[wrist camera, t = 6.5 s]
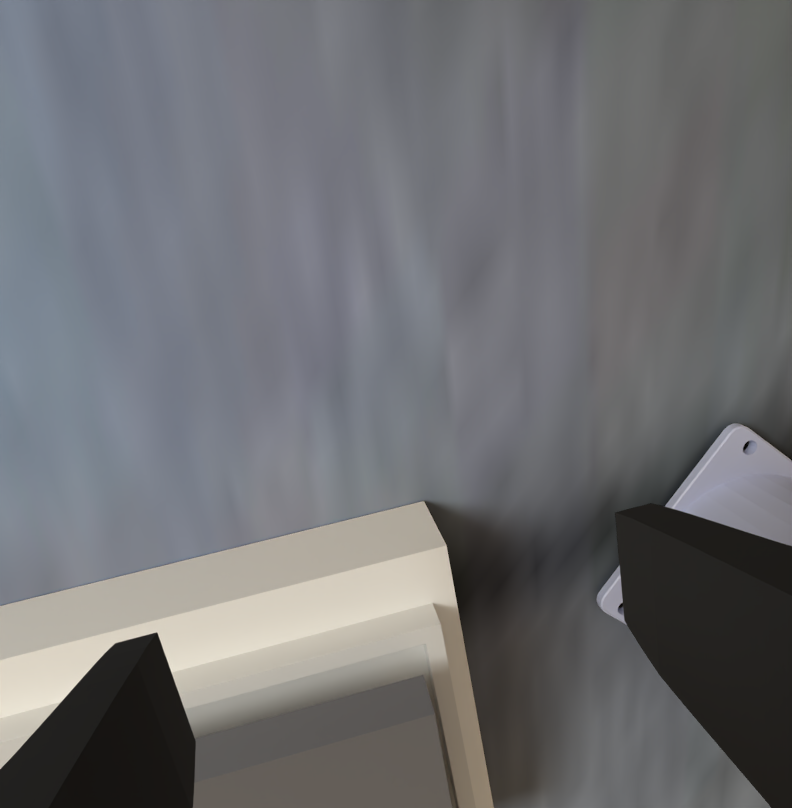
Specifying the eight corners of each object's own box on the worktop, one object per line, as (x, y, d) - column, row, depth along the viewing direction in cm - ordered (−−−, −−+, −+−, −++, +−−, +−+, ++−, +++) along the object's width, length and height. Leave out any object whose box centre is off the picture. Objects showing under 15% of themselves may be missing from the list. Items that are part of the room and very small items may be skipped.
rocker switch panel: (424, 501, 21) (455, 563, 17) (476, 781, 25) (512, 884, 21) (-432, 713, 18) (-619, 843, 14) (-230, 993, 22) (-337, 1156, 18)
